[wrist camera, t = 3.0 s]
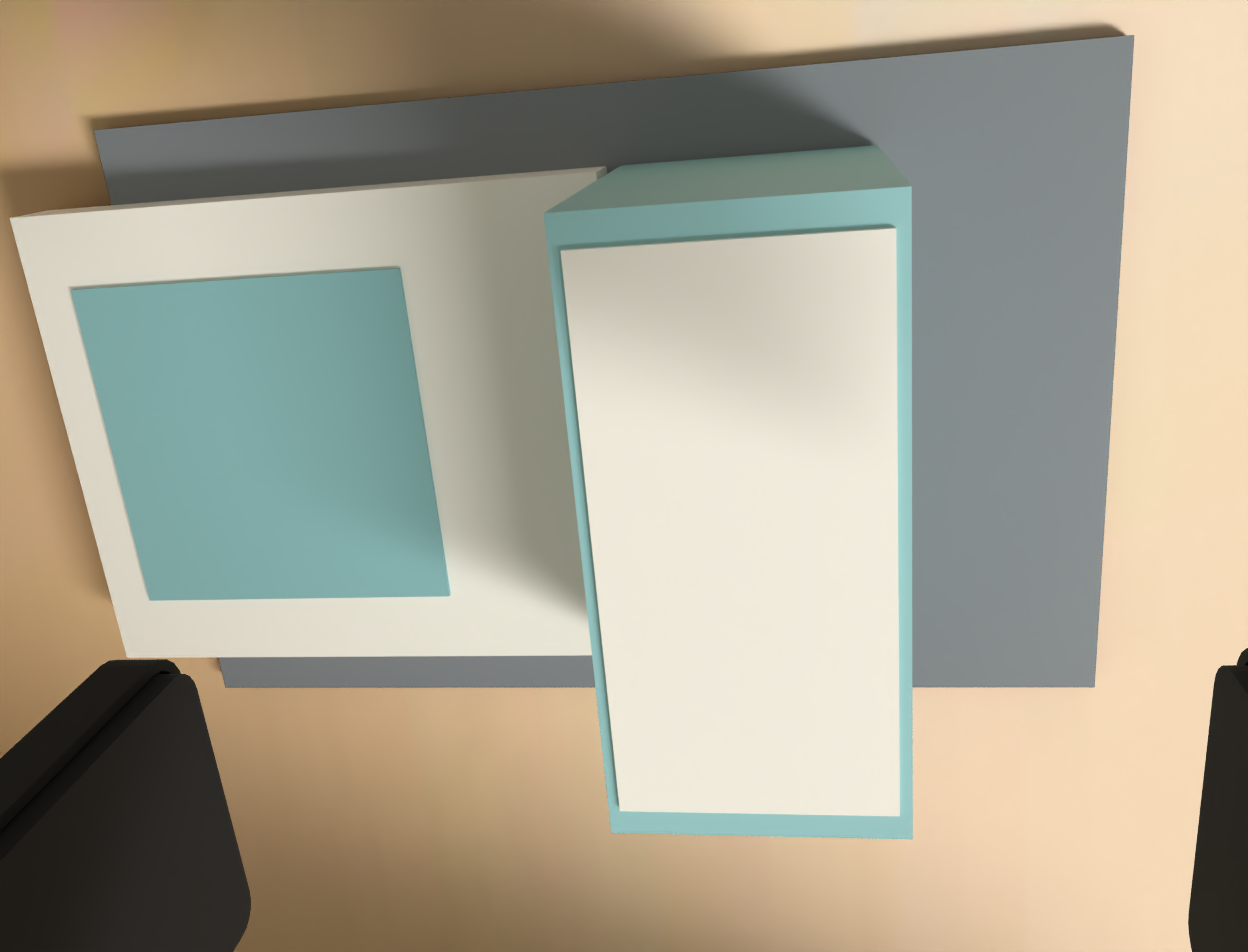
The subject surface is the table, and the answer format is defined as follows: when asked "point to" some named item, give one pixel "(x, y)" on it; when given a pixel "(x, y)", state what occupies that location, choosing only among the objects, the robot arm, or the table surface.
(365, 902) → the table surface
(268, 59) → the table surface
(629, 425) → the teal rectangular block
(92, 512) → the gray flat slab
